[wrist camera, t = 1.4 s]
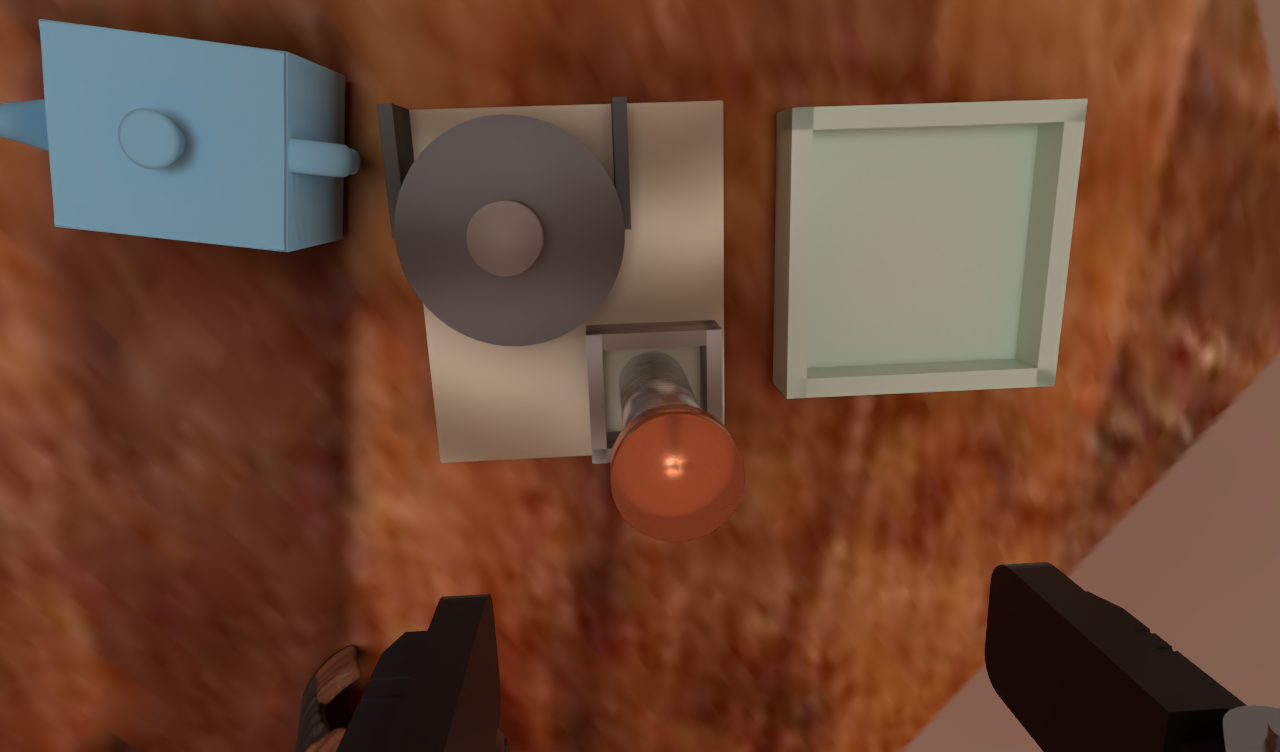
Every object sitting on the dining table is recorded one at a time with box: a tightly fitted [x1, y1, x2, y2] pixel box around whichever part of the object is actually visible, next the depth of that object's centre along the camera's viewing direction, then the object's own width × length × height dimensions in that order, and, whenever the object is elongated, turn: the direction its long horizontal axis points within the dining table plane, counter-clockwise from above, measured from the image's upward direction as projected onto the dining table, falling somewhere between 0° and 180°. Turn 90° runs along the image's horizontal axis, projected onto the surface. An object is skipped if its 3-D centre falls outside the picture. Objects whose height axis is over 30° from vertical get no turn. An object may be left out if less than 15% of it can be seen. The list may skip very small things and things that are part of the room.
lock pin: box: [610, 351, 745, 542], centre depth 26 cm, size 4×4×10 cm
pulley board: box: [377, 97, 724, 464], centre depth 28 cm, size 14×12×6 cm
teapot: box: [0, 19, 361, 252], centre depth 25 cm, size 12×6×8 cm, turn 83°
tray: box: [773, 99, 1088, 399], centre depth 30 cm, size 11×11×2 cm
